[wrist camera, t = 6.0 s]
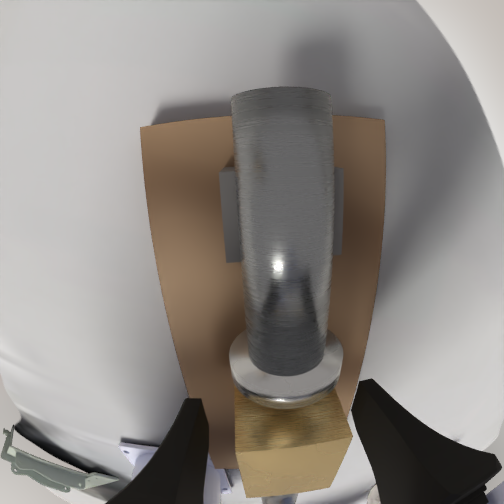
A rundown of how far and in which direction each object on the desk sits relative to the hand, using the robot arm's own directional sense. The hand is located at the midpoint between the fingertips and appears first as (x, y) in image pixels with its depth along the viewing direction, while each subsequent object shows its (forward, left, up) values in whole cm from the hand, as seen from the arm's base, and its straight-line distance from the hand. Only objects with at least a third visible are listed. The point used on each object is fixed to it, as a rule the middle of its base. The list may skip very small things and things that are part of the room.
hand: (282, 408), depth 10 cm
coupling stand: (0, 0, -3) cm, 3 cm away
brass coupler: (-1, 0, -2) cm, 2 cm away
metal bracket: (-19, +26, -4) cm, 33 cm away
